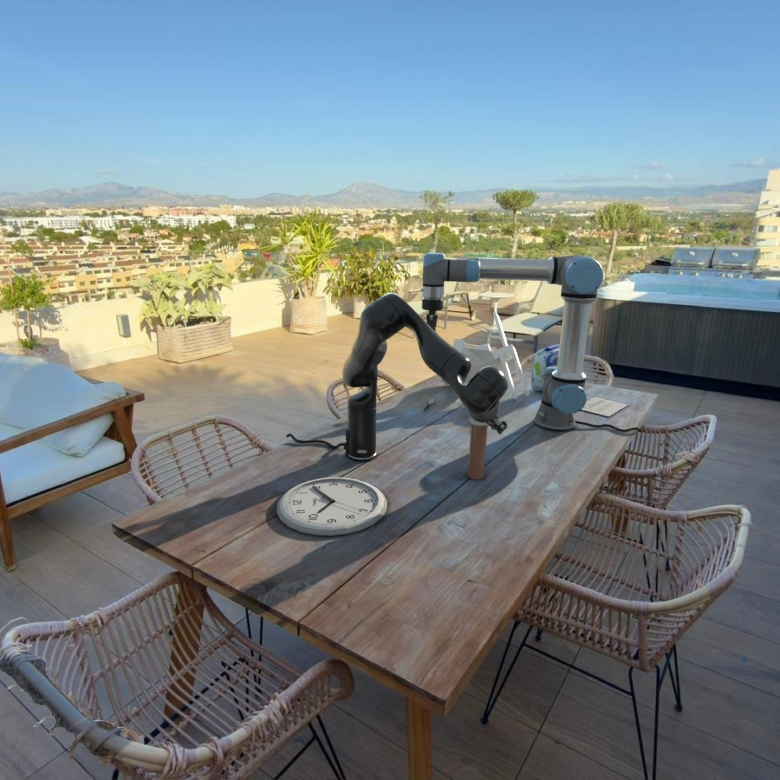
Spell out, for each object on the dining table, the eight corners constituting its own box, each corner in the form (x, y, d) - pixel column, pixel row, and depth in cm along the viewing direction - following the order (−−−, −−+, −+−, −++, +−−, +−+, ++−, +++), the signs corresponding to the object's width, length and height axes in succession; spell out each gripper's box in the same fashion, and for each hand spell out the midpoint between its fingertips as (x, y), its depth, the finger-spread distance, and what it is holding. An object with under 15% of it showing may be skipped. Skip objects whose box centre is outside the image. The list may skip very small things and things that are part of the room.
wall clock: (392, 527, 129) (268, 531, 127) (391, 533, 130) (269, 537, 127) (383, 473, 158) (282, 475, 155) (383, 478, 158) (282, 480, 156)
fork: (420, 411, 216) (420, 406, 216) (430, 400, 230) (431, 395, 230) (426, 412, 215) (426, 407, 215) (436, 401, 230) (436, 396, 229)
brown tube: (486, 478, 160) (491, 418, 154) (471, 480, 159) (475, 420, 153) (479, 471, 164) (484, 413, 158) (465, 473, 163) (469, 414, 157)
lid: (492, 425, 154) (493, 417, 154) (474, 426, 153) (475, 419, 152) (484, 418, 159) (484, 411, 159) (467, 419, 158) (467, 412, 157)
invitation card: (608, 416, 214) (573, 407, 224) (608, 416, 214) (573, 408, 224) (628, 404, 229) (594, 396, 238) (628, 405, 229) (594, 397, 238)
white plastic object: (461, 429, 252) (437, 405, 227) (444, 352, 274) (420, 323, 250) (535, 404, 240) (518, 377, 215) (510, 326, 262) (492, 293, 237)
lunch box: (547, 397, 237) (552, 352, 231) (526, 391, 245) (531, 348, 238) (574, 386, 255) (580, 344, 249) (554, 381, 262) (559, 340, 256)
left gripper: (450, 396, 128) (454, 408, 144) (495, 435, 124) (493, 443, 140) (471, 374, 128) (472, 388, 144) (516, 413, 125) (512, 423, 140)
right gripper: (424, 293, 195) (422, 349, 202) (419, 302, 172) (417, 365, 178) (444, 294, 195) (441, 350, 201) (442, 303, 171) (439, 366, 177)
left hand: (482, 415), depth 142 cm, fingers open, 8 cm apart
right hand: (430, 357), depth 190 cm, fingers open, 13 cm apart
